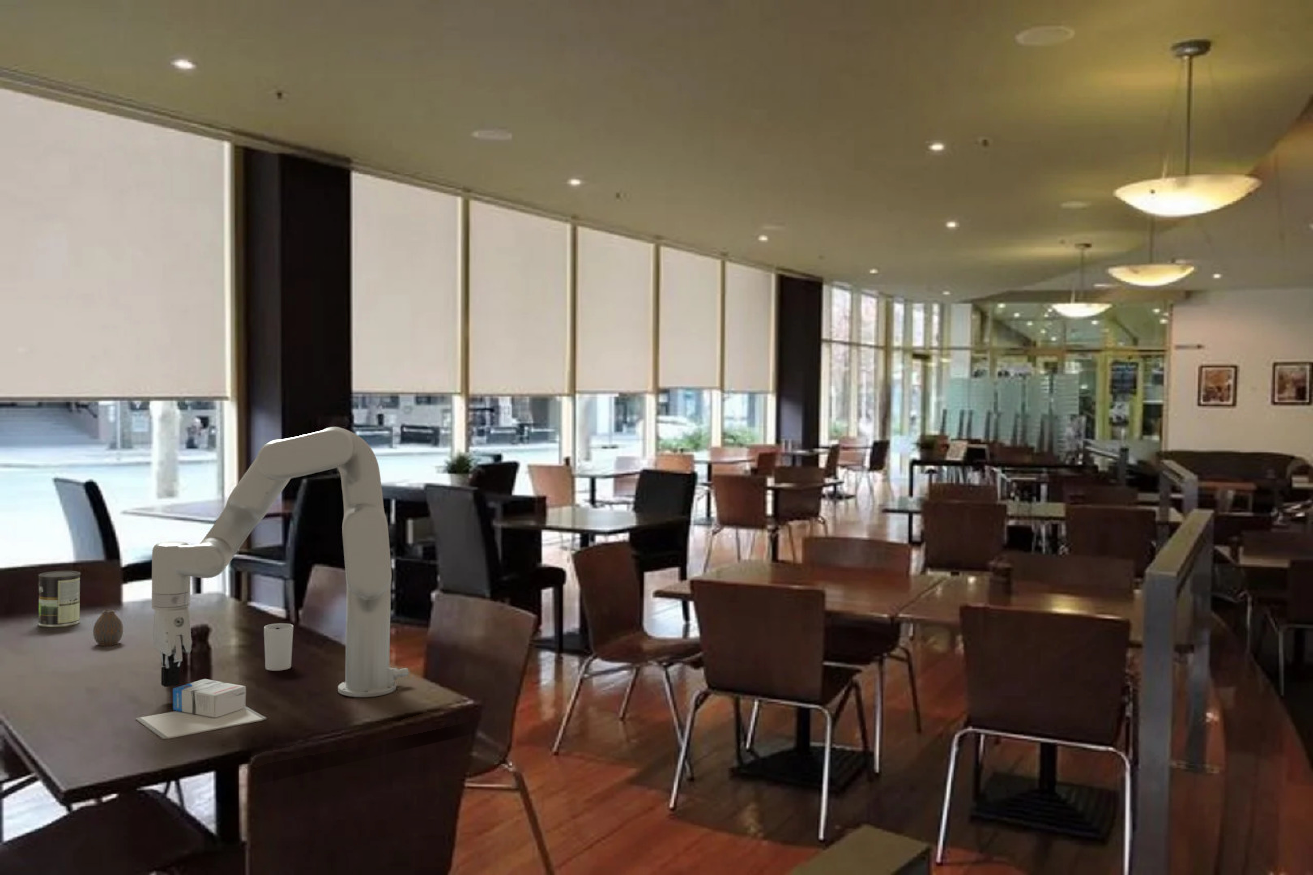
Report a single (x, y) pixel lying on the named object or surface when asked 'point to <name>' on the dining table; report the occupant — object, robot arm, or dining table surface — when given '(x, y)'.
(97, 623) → the vase
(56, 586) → the coffee can
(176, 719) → the mat
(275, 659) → the white cup
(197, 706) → the ink box
